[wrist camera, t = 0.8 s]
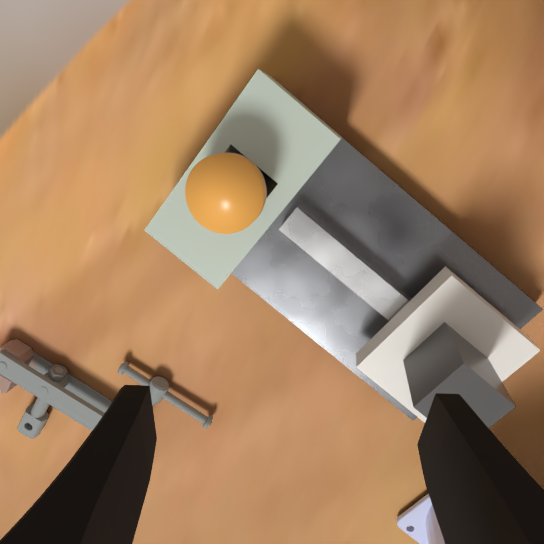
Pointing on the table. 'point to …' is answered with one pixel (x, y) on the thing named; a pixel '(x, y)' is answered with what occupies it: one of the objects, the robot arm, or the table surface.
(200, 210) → the plunger
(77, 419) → the clamp
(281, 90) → the end cabinet
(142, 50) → the table surface
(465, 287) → the carriage
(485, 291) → the rail
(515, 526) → the robot arm
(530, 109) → the table surface
